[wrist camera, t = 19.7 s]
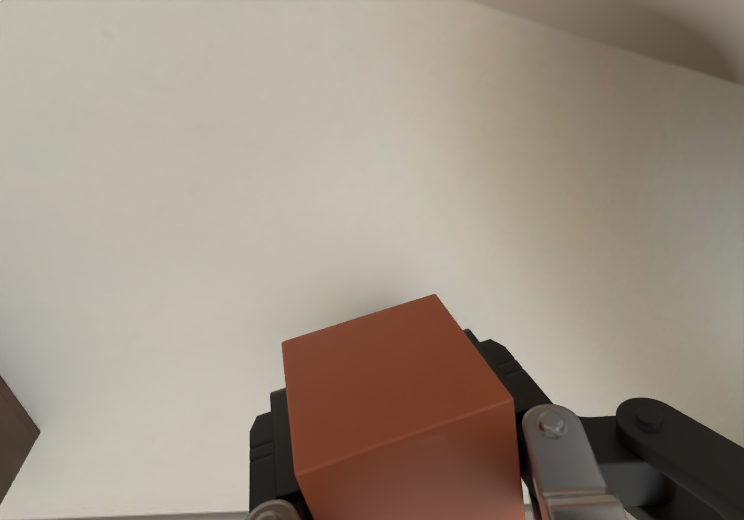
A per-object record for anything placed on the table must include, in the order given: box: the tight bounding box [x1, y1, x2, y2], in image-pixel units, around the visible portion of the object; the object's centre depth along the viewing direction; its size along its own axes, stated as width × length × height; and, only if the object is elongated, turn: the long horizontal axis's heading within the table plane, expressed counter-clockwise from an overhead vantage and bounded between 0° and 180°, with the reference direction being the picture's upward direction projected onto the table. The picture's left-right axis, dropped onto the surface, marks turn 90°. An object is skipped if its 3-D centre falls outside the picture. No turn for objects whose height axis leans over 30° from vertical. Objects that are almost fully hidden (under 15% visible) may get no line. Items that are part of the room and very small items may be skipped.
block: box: [282, 294, 525, 520], centre depth 12 cm, size 5×5×5 cm
